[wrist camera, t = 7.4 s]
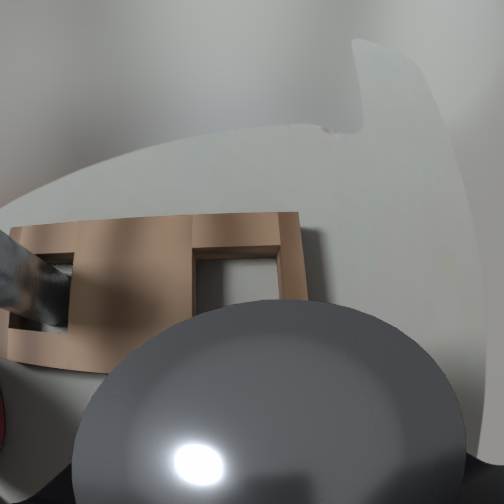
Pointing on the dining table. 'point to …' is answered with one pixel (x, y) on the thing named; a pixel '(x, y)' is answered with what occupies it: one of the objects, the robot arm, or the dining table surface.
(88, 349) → the wooden slotted holder
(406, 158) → the dining table surface
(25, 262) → the cylinder
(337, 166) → the dining table surface
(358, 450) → the cylinder
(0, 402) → the canister
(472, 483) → the robot arm
